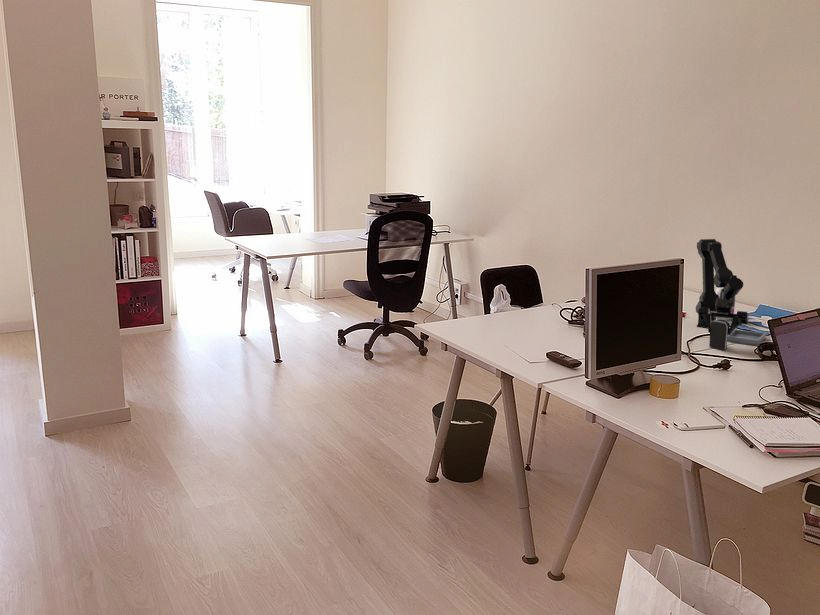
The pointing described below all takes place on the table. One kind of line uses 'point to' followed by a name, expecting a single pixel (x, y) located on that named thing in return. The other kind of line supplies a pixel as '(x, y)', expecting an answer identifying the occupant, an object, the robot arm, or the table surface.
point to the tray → (746, 337)
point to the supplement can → (719, 296)
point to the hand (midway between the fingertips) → (718, 333)
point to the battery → (719, 334)
